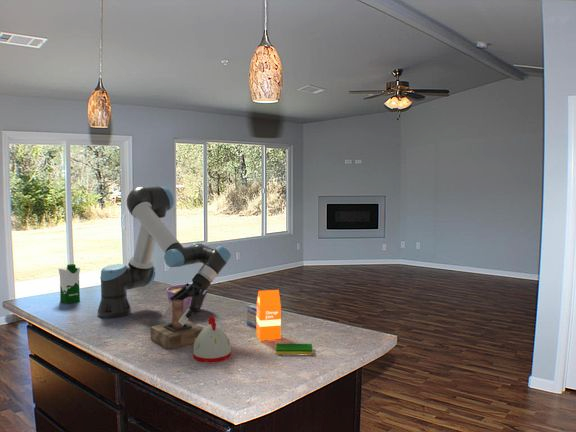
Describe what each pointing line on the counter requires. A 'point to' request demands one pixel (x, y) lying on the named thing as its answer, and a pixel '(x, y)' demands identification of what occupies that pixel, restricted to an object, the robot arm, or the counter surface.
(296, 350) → the dish sponge
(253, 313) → the medicine box
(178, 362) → the counter surface
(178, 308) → the terracotta peg
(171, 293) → the bowl of food
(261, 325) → the orange juice
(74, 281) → the milk carton
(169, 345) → the walnut socket block
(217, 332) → the kitchen timer
